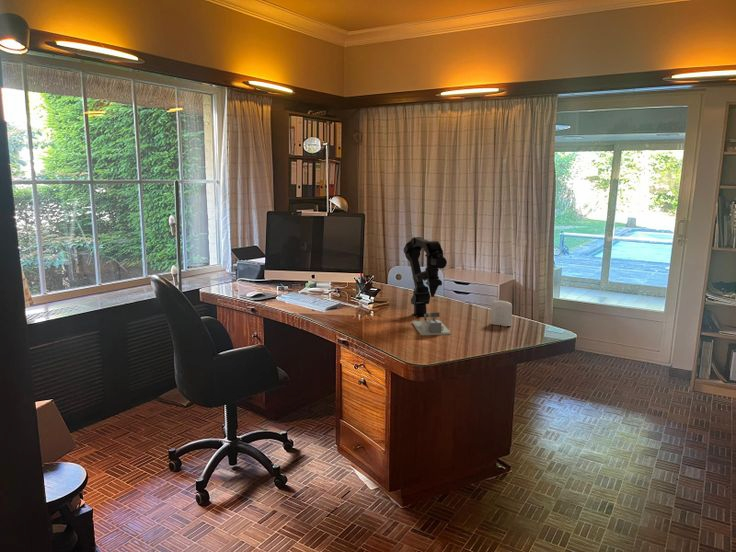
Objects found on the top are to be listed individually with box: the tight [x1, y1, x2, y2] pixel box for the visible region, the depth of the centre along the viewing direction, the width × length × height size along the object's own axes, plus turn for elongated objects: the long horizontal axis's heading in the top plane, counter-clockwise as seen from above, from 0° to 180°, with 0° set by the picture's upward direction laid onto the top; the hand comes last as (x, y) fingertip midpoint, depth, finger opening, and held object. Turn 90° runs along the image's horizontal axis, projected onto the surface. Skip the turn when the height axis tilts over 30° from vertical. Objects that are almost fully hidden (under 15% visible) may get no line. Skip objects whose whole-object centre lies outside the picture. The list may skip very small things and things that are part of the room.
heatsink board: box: [412, 313, 452, 336], centre depth 259 cm, size 22×14×6 cm, turn 6°
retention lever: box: [426, 312, 441, 318], centre depth 255 cm, size 2×4×14 cm
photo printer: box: [490, 300, 513, 327], centre depth 263 cm, size 10×4×12 cm, turn 56°
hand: (432, 296), depth 270 cm, fingers closed
